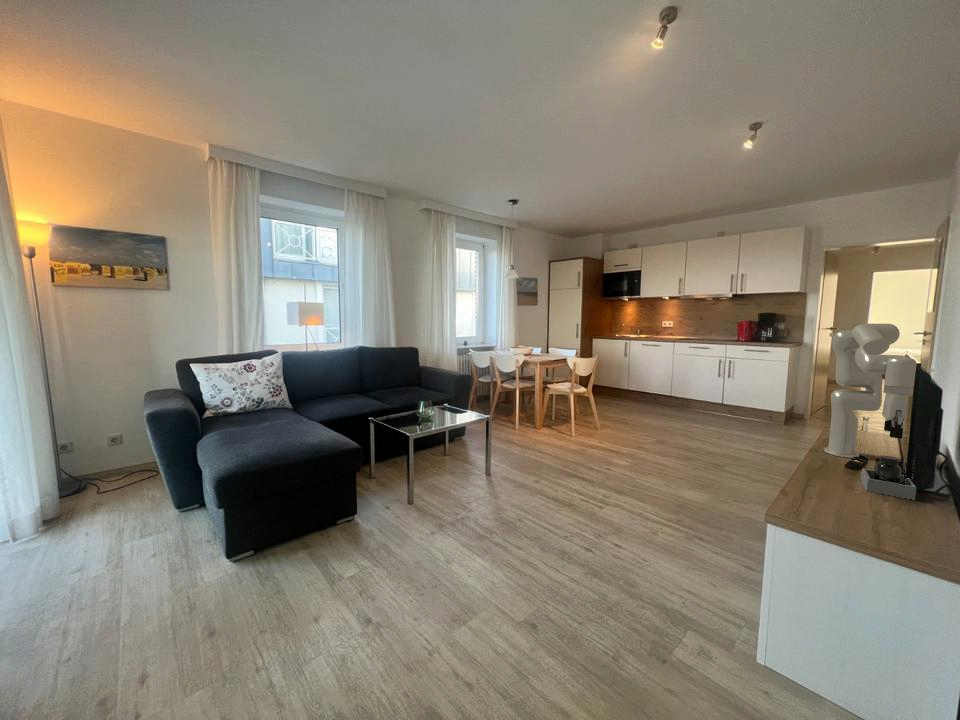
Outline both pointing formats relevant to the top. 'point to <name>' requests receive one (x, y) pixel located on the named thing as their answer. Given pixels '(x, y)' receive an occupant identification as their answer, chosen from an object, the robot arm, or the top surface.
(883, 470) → the supplement bottle
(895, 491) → the bin
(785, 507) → the top surface
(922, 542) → the top surface
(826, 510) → the top surface
